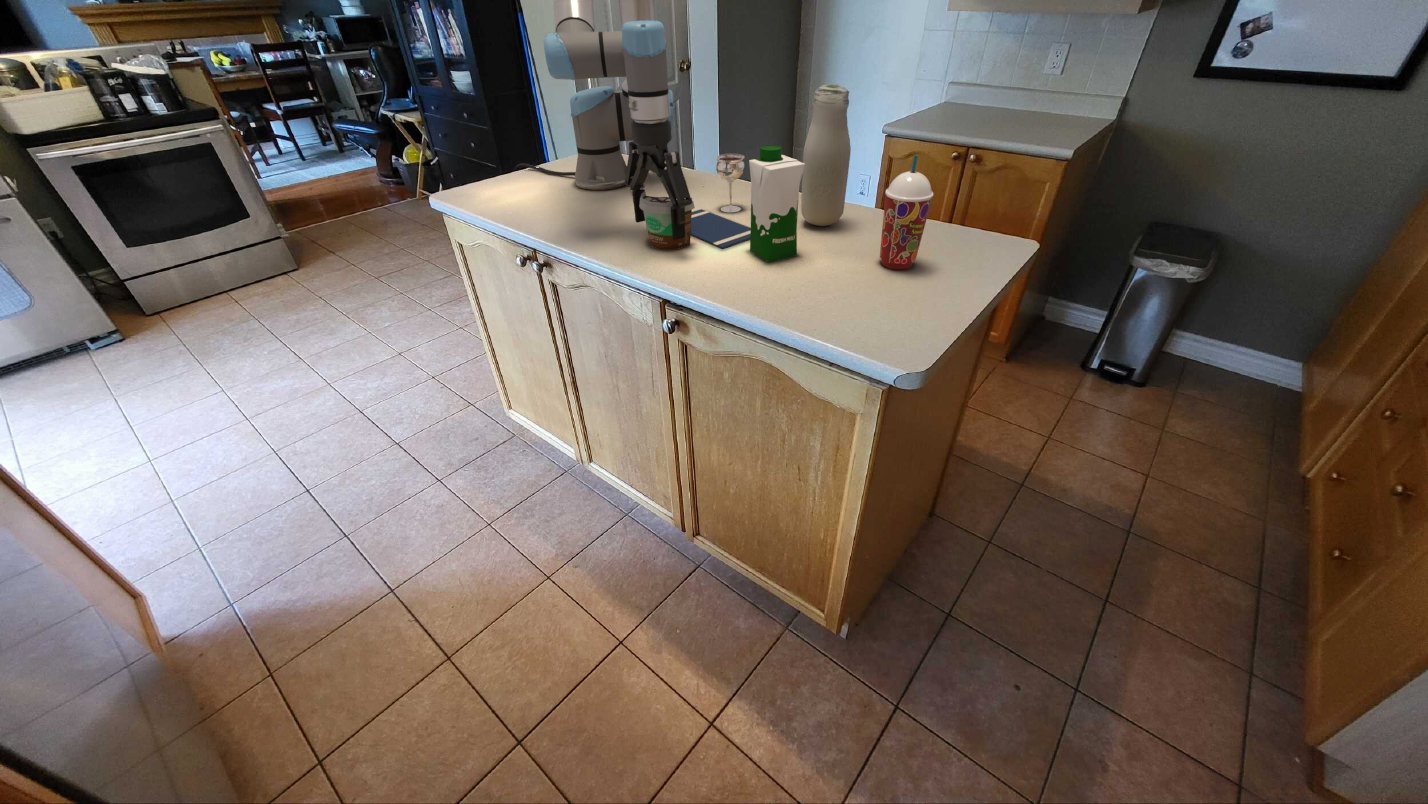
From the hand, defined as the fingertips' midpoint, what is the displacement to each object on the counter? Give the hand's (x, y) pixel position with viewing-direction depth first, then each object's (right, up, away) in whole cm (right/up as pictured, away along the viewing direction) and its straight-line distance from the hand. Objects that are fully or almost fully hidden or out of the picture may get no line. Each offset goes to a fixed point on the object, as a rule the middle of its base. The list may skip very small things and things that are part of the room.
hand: (659, 229), depth 120 cm
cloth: (+11, +3, +9) cm, 14 cm away
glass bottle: (+36, +4, +9) cm, 37 cm away
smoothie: (+47, -10, -9) cm, 49 cm away
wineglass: (+16, +11, +19) cm, 27 cm away
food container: (+1, -3, +1) cm, 4 cm away
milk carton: (+24, -6, -4) cm, 25 cm away
